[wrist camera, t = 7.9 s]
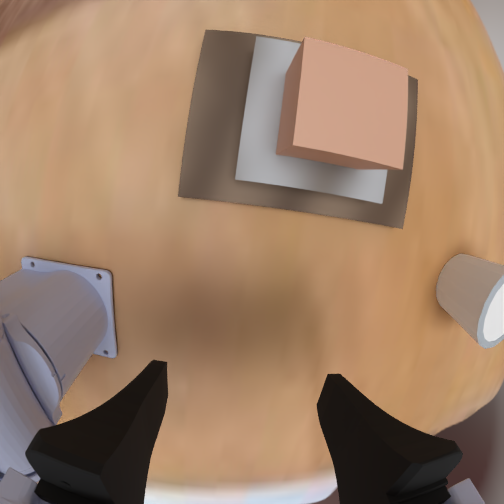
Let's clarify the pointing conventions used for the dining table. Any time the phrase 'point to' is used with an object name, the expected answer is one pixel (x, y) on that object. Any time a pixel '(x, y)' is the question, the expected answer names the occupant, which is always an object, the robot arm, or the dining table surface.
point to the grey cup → (474, 297)
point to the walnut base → (225, 133)
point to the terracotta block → (344, 108)
